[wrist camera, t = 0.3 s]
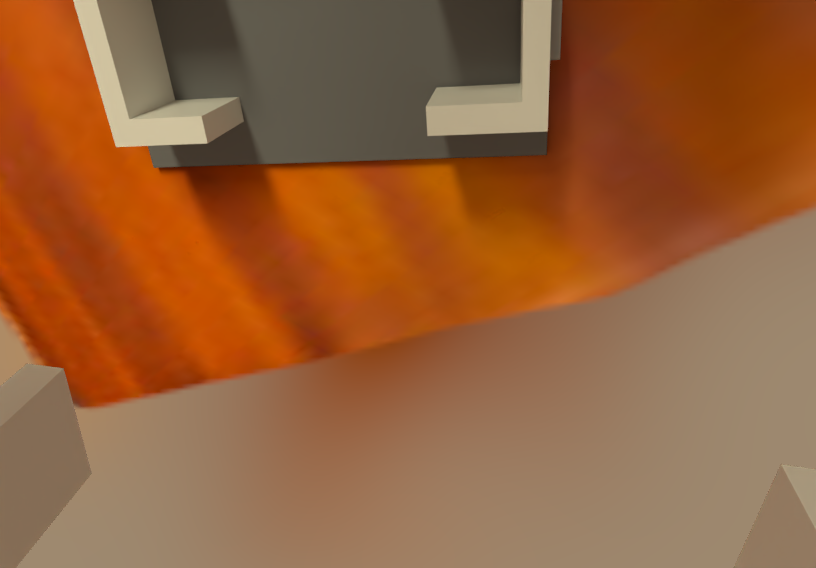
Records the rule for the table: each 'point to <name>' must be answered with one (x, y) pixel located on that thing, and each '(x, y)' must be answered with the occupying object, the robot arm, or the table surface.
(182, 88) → the mat
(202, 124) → the cap
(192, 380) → the table surface
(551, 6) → the cap
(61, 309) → the table surface
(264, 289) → the table surface
